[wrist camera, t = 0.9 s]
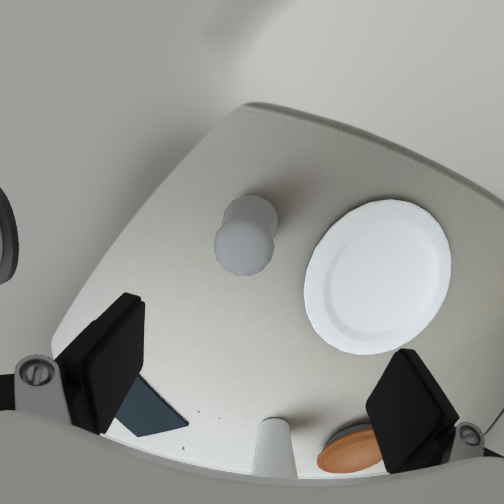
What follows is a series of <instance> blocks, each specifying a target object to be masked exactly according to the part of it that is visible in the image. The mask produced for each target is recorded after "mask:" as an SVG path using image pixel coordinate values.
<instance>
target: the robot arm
mask: <svg viewBox="0 0 504 504" xmlns="http://www.w3.org/2000/svg"><path fill="white" fill-rule="evenodd" d="M2 255H3V239H2V232H1V227H0V263H1V260H2ZM144 320H145V302H142V301H141V297H140V296H136V295H133V294H130V293H126V292H125V293H123V294H122V295H121V296H120V297H119V298H118V299H117V300H116V301H115V302H114V303H113V304H112V305H111V306H110V307H109V308H108V309H107V310H106V311H105V312H103V313H102V314H101V315H100V316H99V317H98V318H97V319H96V320H94V321H92V322H91V323H90V324H89V325H88V326H87V327H86V328H85V329H84V330H83V331H82V332H81V333H80V334H79V335H78V336H77V337H76V338H75V339H74V340H73V341H72V342H71V343H70V344H69V345H68V346H67V347H66V348H65V349H64V350H63V351H62V352H61V353H60V355H59V356H58V357H57V358H56V359H55V360H53V359H51V358H50V357H47V356H44V355H30V356H27V357H25V358H23V359H22V360H20V361H19V362H18V364H17V365H16V367H15V373H14V374H7V375H0V504H504V457H503V456H501V455H499V454H497V453H495V452H493V451H491V450H489V449H487V448H485V447H484V436H483V433H482V432H481V430H480V429H479V428H478V427H477V426H476V425H474V424H472V423H469V422H462V423H460V424H459V425H458V426H457V427H456V428H455V426H454V424H455V423H456V422H457V420H458V419H459V418H460V417H459V416H458V414H457V412H456V411H455V409H454V408H453V406H452V404H451V403H450V401H449V400H448V398H447V397H446V395H445V394H444V392H443V391H442V389H441V387H440V386H439V384H438V383H437V382H436V380H435V379H434V377H433V376H432V374H431V373H430V371H429V370H428V368H427V367H426V365H425V364H424V363H423V361H422V360H421V358H420V357H419V355H418V354H417V353H416V351H415V350H413V349H404V348H401V349H399V350H398V352H395V353H394V355H393V357H392V358H391V360H390V362H389V364H388V366H387V368H386V369H385V371H384V373H383V375H382V376H381V378H380V380H379V382H378V383H377V385H376V387H375V388H374V390H373V392H372V393H371V395H370V396H369V398H368V400H367V402H366V411H367V414H368V417H369V419H370V422H371V425H372V428H373V431H374V434H375V437H376V440H377V443H378V446H379V449H380V452H381V455H382V458H383V462H384V465H385V468H386V471H387V472H388V473H390V474H389V475H381V476H372V477H362V478H348V479H286V478H272V477H261V476H252V475H243V474H237V473H230V472H224V471H218V470H213V469H208V468H203V467H199V466H194V465H190V464H186V463H181V462H178V461H174V460H170V459H166V458H163V457H160V456H156V455H153V454H150V453H146V452H143V451H140V450H137V449H134V448H131V447H128V446H126V445H123V444H120V443H117V442H114V441H112V440H110V439H107V438H104V437H102V436H99V435H100V433H103V434H105V433H106V432H107V430H108V428H109V427H110V425H111V423H112V421H113V419H114V417H115V415H116V414H117V412H118V410H119V408H120V406H121V405H122V403H123V401H124V399H125V397H126V396H127V394H128V392H129V390H130V388H131V387H132V385H133V383H134V381H135V380H136V378H137V376H138V374H139V373H140V371H141V369H142V366H143V360H144Z"/></svg>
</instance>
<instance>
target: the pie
mask: <svg viewBox="0 0 504 504" xmlns="http://www.w3.org/2000/svg"><path fill="white" fill-rule="evenodd" d="M382 459H383V458H382V455H381V452H380V449H379V446H378V443H377V440H376V437H375V434H374V431H373V428H372V425H371V423H365V424H358V425H354V426H351V427H348V428H346V429H343V430H342V431H340V432H338V433H336V434H335V435H334V436H333V437H332V438H331V439H330V440H329V441H328V443H327V444H326V446H325V448H324V449H323V451H322V452H321V453H320V454H319V455H318V458H317V464H318V466H319V468H321V469H322V470H324V471H327V472H330V473H351V472H356V471H360V470H363V469H366V468H368V467H371V466H373V465H375V464H376V463H378V462H380V461H381V460H382Z"/></svg>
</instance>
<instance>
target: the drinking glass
mask: <svg viewBox="0 0 504 504" xmlns="http://www.w3.org/2000/svg"><path fill="white" fill-rule="evenodd" d="M251 475H252V476H261V477H272V478H286V479H298V476H297V470H296V464H295V458H294V453H293V447H292V441H291V435H290V426H289V424H288V423H287V422H286V421H284V420H282V419H278V418H271V419H267V420H264V421H263V422H261V423H260V424H259V426H258V435H257V442H256V448H255V454H254V460H253V466H252V471H251Z"/></svg>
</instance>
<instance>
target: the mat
mask: <svg viewBox="0 0 504 504" xmlns="http://www.w3.org/2000/svg"><path fill="white" fill-rule="evenodd" d="M115 418H116V419H118V420H119V421H120V422H121V423H122V424H123V425H124V426H125V427H126V428H128V429H129V430H130V431H131V432H132V433H133V434H134V435H136V436H137V437H141V436H147V435H151V434H156V433H161V432H165V431H170V430H174V429H178V428H182V427H186V426H188V424H189V423H187V422H186V421H185V420H184V419H183V418H182V417H181V416H180V415H179V414H178V413H176V412H175V411H174V410H173V409H172V408H171V407H170V406H169V405H168V404H167V403H166V402H165V401H164V400H163V399H162V398H161V397H160V396H159V395H158V394H157V393H156V392H155V391H154V390H153V389H152V388H151V387H150V386H149V385H148V384H147V383H146V382H145V381H144V380H143V379H142V378H141V377H140V375H139V374H138V376H137V378H136V380H135V381H134V383H133V385H132V387H131V388H130V390H129V392H128V394H127V396H126V397H125V399H124V401H123V403H122V405H121V406H120V408H119V410H118V412H117V414H116V415H115Z"/></svg>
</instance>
